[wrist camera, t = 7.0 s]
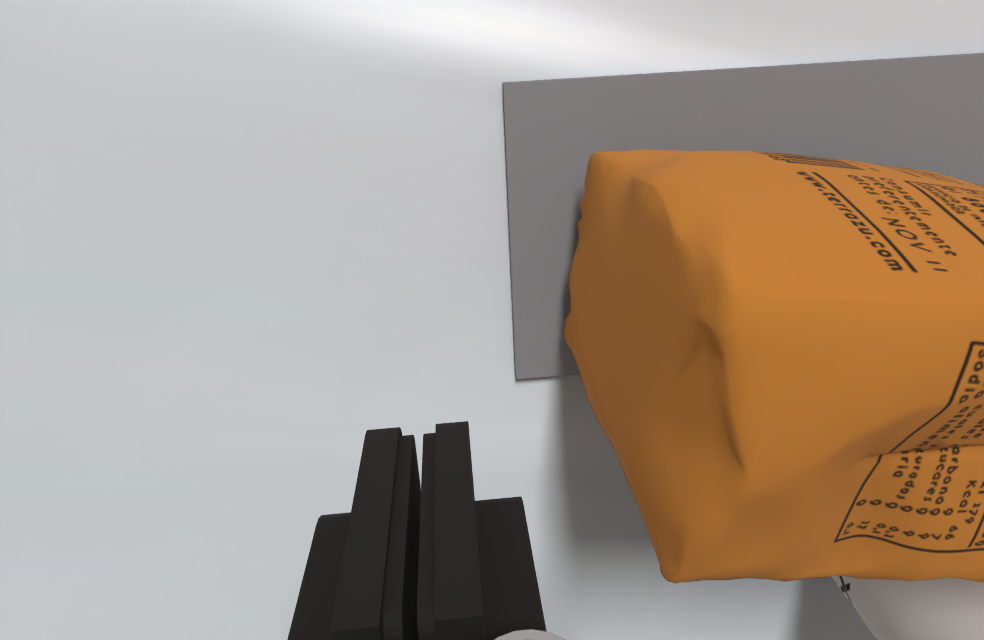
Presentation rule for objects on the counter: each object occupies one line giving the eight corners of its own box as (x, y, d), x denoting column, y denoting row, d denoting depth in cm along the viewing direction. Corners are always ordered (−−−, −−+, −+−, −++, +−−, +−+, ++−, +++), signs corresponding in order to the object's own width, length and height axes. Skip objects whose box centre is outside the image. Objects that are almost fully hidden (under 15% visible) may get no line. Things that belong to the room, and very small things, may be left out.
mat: (1051, 48, 23) (1059, 48, 22) (974, 337, 27) (979, 340, 27) (502, 82, 22) (503, 83, 21) (515, 375, 26) (516, 379, 26)
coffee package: (548, 377, 26) (1052, 391, 28) (640, 654, 15) (1465, 637, 17) (583, 115, 22) (1167, 157, 24) (746, 218, 11) (1810, 277, 13)
